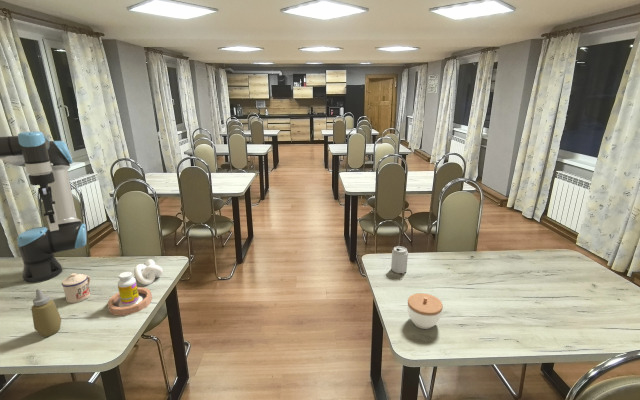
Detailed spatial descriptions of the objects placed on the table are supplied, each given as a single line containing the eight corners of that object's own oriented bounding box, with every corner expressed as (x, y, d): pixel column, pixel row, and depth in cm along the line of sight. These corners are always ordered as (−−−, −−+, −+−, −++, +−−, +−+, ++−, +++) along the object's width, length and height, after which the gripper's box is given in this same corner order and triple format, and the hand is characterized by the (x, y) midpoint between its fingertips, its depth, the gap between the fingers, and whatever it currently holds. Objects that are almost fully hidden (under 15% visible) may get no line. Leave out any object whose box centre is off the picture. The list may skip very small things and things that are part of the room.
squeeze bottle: (33, 341, 124) (20, 298, 119) (40, 328, 131) (28, 286, 126) (60, 335, 127) (48, 293, 122) (66, 322, 134) (54, 281, 129)
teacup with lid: (80, 304, 146) (73, 280, 142) (60, 302, 147) (54, 278, 143) (101, 289, 157) (95, 266, 153) (82, 287, 158) (77, 264, 154)
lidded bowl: (403, 312, 139) (405, 288, 136) (434, 312, 139) (437, 288, 135) (410, 333, 127) (412, 307, 124) (444, 334, 127) (447, 308, 123)
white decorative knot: (149, 289, 156) (145, 272, 153) (128, 285, 160) (125, 267, 157) (167, 277, 166) (164, 260, 164) (147, 273, 170) (144, 256, 167)
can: (390, 266, 175) (392, 244, 171) (405, 267, 174) (407, 245, 170) (391, 274, 168) (392, 251, 164) (407, 275, 167) (409, 252, 163)
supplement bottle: (136, 305, 143) (131, 277, 139) (119, 306, 142) (113, 279, 138) (141, 296, 150) (136, 269, 146) (124, 297, 148) (119, 271, 144)
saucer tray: (106, 301, 147) (105, 295, 147) (147, 288, 157) (146, 283, 156) (112, 320, 135) (111, 314, 134) (156, 305, 145) (155, 299, 144)
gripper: (53, 177, 124) (67, 232, 131) (51, 166, 143) (63, 214, 149) (27, 181, 120) (42, 237, 126) (28, 168, 139) (42, 218, 145)
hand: (54, 225), depth 138 cm, fingers open, 13 cm apart
